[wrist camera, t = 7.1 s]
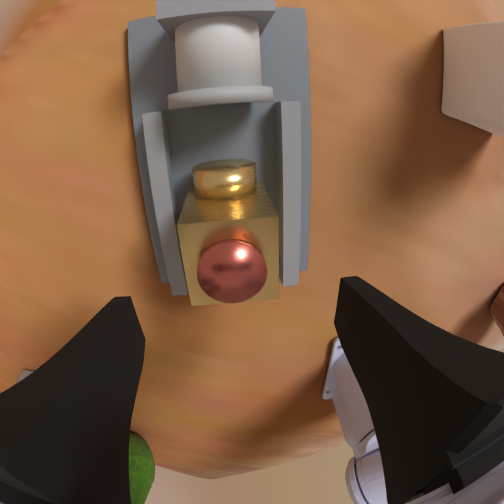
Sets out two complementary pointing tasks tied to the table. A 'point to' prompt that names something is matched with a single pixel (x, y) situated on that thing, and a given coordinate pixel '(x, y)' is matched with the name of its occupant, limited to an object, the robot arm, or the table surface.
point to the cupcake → (498, 309)
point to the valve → (229, 235)
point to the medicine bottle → (475, 75)
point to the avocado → (140, 469)
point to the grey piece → (222, 114)
